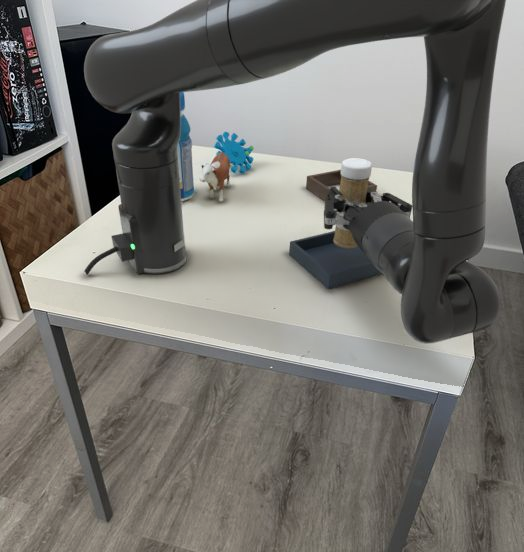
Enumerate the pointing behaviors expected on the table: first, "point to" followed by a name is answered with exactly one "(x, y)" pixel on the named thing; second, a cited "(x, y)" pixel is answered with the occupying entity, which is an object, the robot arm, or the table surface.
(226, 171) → the bull figurine
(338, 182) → the open box
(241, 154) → the blue virus toy
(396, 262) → the robot arm
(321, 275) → the tray
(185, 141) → the beverage bottle
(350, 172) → the sprinkles bottle
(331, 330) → the table surface
